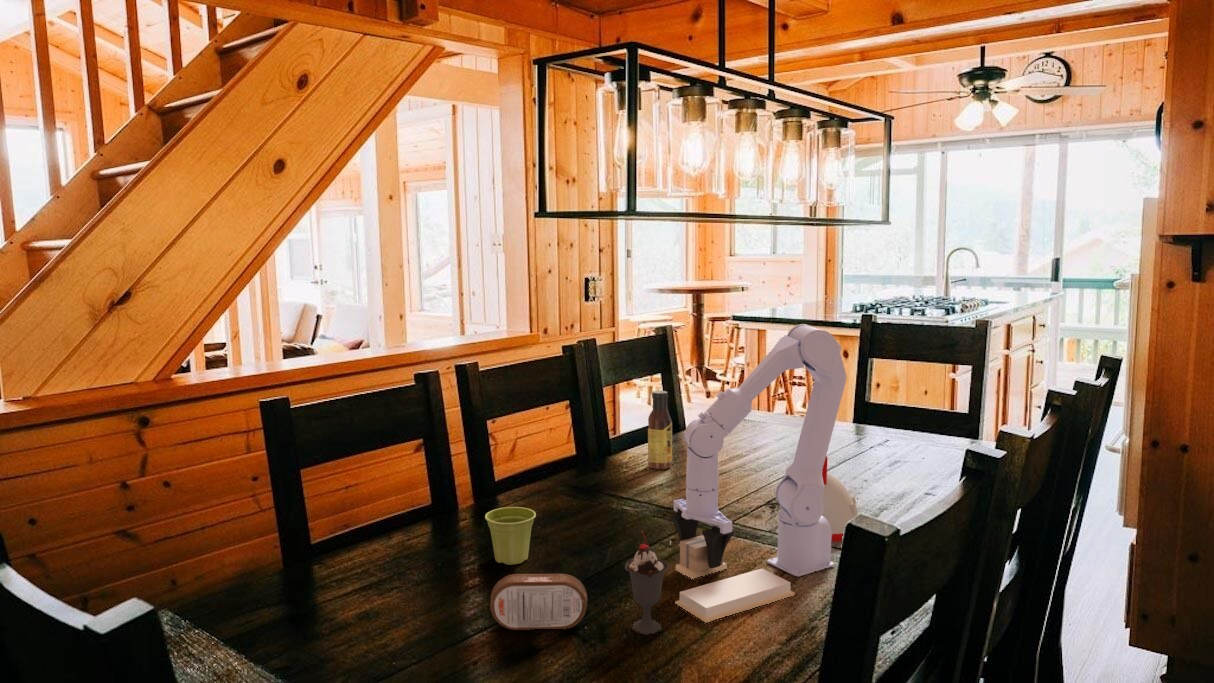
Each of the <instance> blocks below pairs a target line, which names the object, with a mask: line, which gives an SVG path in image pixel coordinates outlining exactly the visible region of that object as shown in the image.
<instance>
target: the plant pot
mask: <svg viewBox="0 0 1214 683" xmlns="http://www.w3.org/2000/svg"><path fill="white" fill-rule="evenodd" d="M536 516H537V513H536V511H535V510H533V509H531V508H527V507H520V506H508V507H499V508H496V509H492V510H490V511H488V512H486V513H485V516H484V518H485V519H484V520H486V521H487V526H488V528H489V530H490V531H489V532H490V535H491V543H492V547H493V553H494V554H493V555H494V559H495V562H497V563H498V564H502V563H503V564H505V565H509V566H511V565H518V564H522V563H523V562H525V561H526V560H528V558H529V551H530V543H531V542H530V541H531V533H532V526H533V524H534V520H535V518H536Z"/></svg>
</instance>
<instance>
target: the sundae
mask: <svg viewBox="0 0 1214 683" xmlns="http://www.w3.org/2000/svg"><path fill="white" fill-rule="evenodd" d="M640 533H641V534H642V535H643V542H642V543H641V544H640V545H639V549H638V550H637V552H635V554H634V557H633V558H631V559H627V561H626V563H625V565H624V570H626V572H628V573H629V576H630V581H631V590H632V595H633V599H634V601H635V602H636V603H637V605H639V606H640V607H641V608H642V617H641V619H639V621H638V620H636V621H637V622H636V621H634V622H633V623H634V624H633V627H632V628H633V629H636V631H639V632H640V633H644V634H649V633H655V632H657V630H659V629H661V625H662V624H661V623H660V622H659V621H657V620H654V619H652V615H651V612H652V610H651V608H652V607H654V606H655V605H656V604H657V603H658V602H659V601H660V598H661V593H662V589H663V588H662V586H663V579H664V574H665V572H666V571H667V570H669V568H670V567H669V565H668V563H667V562H666V561H665V560H663V559H661V558H659V557H657V554H656V553H655V551H654V550H653V549H651V548H650V545H648V541H647V537H646V536H645V534H644V533H645V532H644V530H641V532H640ZM656 621H657V622H656ZM658 622H659V623H660V624H661V625H660V624H659V623H658Z"/></svg>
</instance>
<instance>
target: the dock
mask: <svg viewBox="0 0 1214 683" xmlns="http://www.w3.org/2000/svg"><path fill="white" fill-rule="evenodd" d="M791 584H792V582H790V581H788V580H787V579H785V578H783V577H781V576H779V575H776V574H775V573H773V572H770V571H769V570H767V569H765V568H759V569H756V570H751V571H749V572H745V573H742V574H737V575H734V576H731V577H728V578H724V579H721V580H716V581H713V582H710V583H706V584H703V585H699V586H696V587H692V588H689V589H685V590H683V591H679V599H678V600H675V601H674V602H675V603H674V604H677V605H678V606H680V607H682V608H683V609H685V610H686V611H688V612H690V613H691V614H693V615H695V616H696V617H698V618H700V619H701V620H702V621H704V622H705V623H706V622H710V621H713V620H715V619H719V618H722V617H725V616H729V615H732V614H735V613H739V612H742V611H745V610H749V609H752V608H755V607H758V606H761V605H765V604H768V605H770V604H769V603H771V602H774V603H776V602H775V601H777V600H780V599H783V600H785V599H784V598H787V597H789V596H793V595H795V594H796V592H794V591H792V590H791V588H792V587H791V586H792V585H791ZM793 597H794V596H793ZM787 599H788V598H787ZM780 601H781V600H780ZM777 602H778V601H777ZM771 604H772V603H771ZM678 606H677V607H678ZM765 606H766V605H765ZM761 607H762V606H761ZM758 608H759V607H758ZM683 609H682V610H683ZM755 609H756V608H755ZM752 610H753V609H752ZM686 611H685V612H686ZM749 611H750V610H749ZM742 613H743V612H742ZM739 614H740V613H739ZM705 623H704V624H705Z"/></svg>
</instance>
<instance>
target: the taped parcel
mask: <svg viewBox="0 0 1214 683" xmlns="http://www.w3.org/2000/svg"><path fill="white" fill-rule="evenodd" d="M724 569H727V570H728V564H727V562H724V556H723V557H722V561H721V564H720V566H719V567H715V568H710V567H709V565H708V555H707V546H706V542H705V538H704V536H703V534H701V535H698V536H697V535H696V537H693V538H690V539H686V540H682V541H680V540H679V563H677V564H675V571H676V572H677V571H678V572H677V573H679V572H680V573H679V574H681V573H682V574H681V575H683V576H685V575H686V576H685V577H687V576H688V577H687V578H689V577H690V578H691V580H692V579H693V580H695V579H694V578H697V577H700V576H703V577H706V576H705V575H707V576H709V575H708V574H710V575H712V574H711V573H713V574H716V573H715V572H717V573H719V572H718V571H720V572H722V570H723V571H725V570H724ZM690 578H689V579H690ZM700 578H701V577H700ZM697 579H698V578H697Z"/></svg>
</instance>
